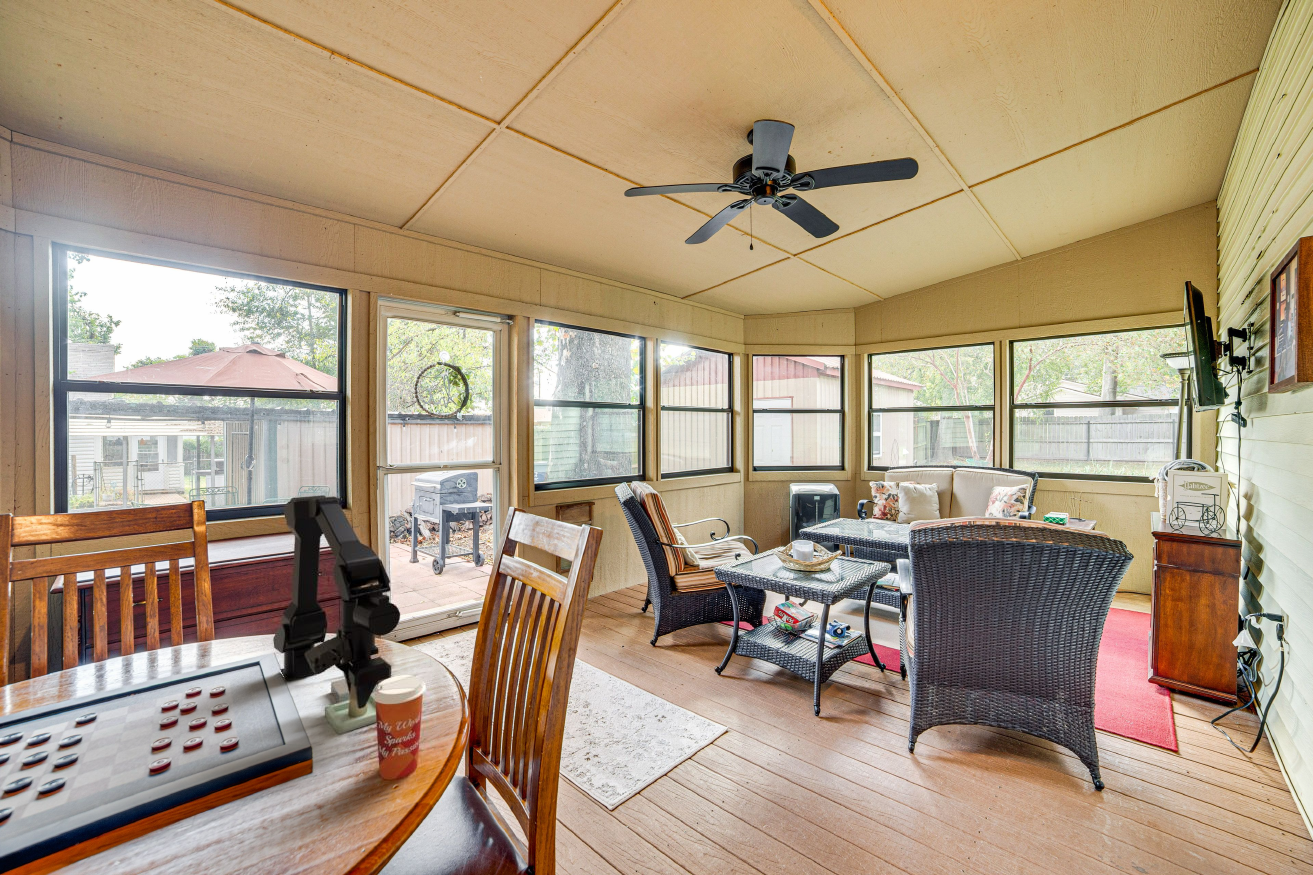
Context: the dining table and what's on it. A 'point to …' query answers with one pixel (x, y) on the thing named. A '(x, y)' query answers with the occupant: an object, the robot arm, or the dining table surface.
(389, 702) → the paper cup
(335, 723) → the tray
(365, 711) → the dowel
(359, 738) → the dining table surface
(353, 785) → the dining table surface
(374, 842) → the dining table surface
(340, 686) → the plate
